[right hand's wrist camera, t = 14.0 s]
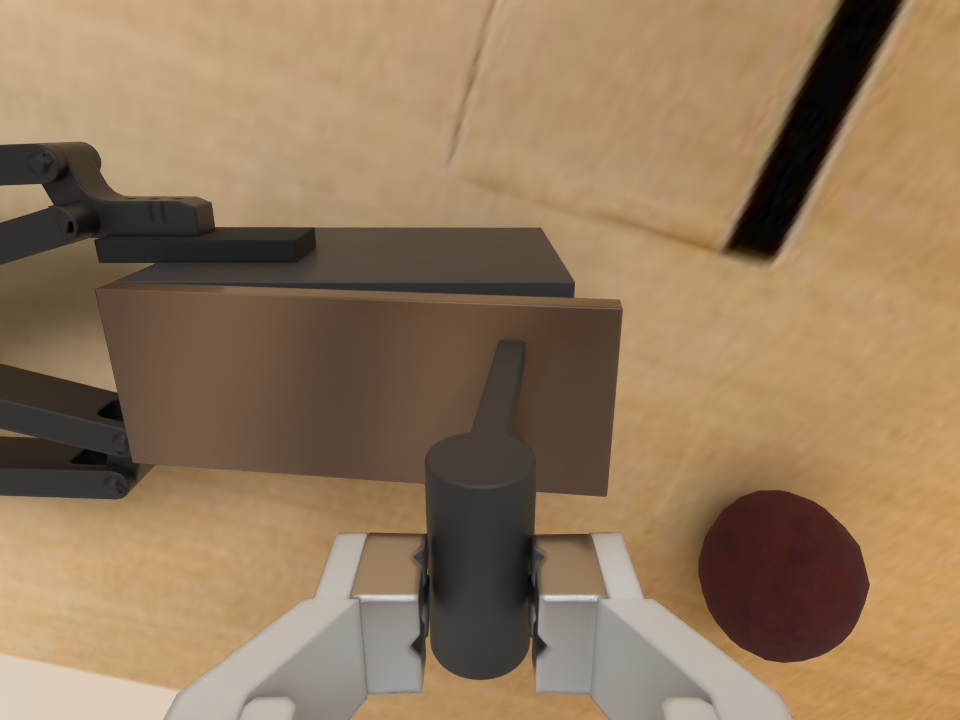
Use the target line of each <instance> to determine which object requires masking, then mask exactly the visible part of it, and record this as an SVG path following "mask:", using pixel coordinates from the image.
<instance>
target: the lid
mask: <svg viewBox="0 0 960 720" xmlns="http://www.w3.org/2000/svg"><path fill="white" fill-rule="evenodd" d="M95 291H96V296H97V300H98V305H99V309H100V314H101V319H102V323H103V328H104V332H105V337H106V341H107V346H108V351H109V355H110V360H111V364H112V369H113V373H114V378H115V383H116V387H117V392H118V396H119V401H120V405H121V410H122V415H123V419H124V424H125V428H126V433H127V437H128V442H129V447H130V451H131V456H132V460H133V462H134V463H144V464H158V465H172V466H186V467H200V468H214V469H228V470H241V471H255V472H269V473H283V474H297V475H311V476H325V477H339V478H353V479H366V480H380V481H394V482H408V483H422V484H425V489H426V519H427V535H428V545H429V561H428V576H429V577H430V641H431V648H432V651H433V653H434V655H435V657H436V659H437V660H438V661H439V663H440V664H441V665H442V666H443V667H444V668H446V669H447V670H448V671H450V672H452V673H453V674H455V675H458V676H460V677H464V678H467V679H473V680H487V679H493V678H497V677H500V676H503V675H505V674H507V673H509V672H511V671H512V670H514V669H515V668H516V667H517V666H518V665H519V664H520V663H521V662H522V661H523V659H524V658H525V656H526V654H527V652H528V649H529V645H530V630H529V618H528V578H529V576H530V574H531V571H530V561H529V546H530V535H534V524H535V498H536V492H547V493H561V494H575V495H589V496H602V497H606V496H607V489H608V477H609V465H610V454H611V442H612V430H613V418H614V407H615V395H616V383H617V371H618V360H619V348H620V336H621V324H622V313H623V309H622V305H621V302H620V300H614V299H586V298H557V297H529V296H500V295H472V294H443V293H415V292H386V291H358V290H329V289H301V288H272V287H244V286H215V285H187V284H158V283H129V282H114V283H111V284H108V285H105V286H102V287H100V288H97V289H96V290H95Z"/></svg>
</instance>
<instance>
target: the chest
mask: <svg viewBox="0 0 960 720" xmlns="http://www.w3.org/2000/svg"><path fill="white" fill-rule="evenodd" d="M315 237H316V248H315V249H314V250H312V251H311V252H310V253H308V254H307V255H306V256H305V257H303V258H302V259H301V260H299V261H298V262H158V263H156V264H154V265H151V266H149V267H147V268H144V269H142V270H140V271H138V272H135V273H133V274H131V275H128V276H126V277H124V278H122V279H119V280H117V281H115V282H129V283H158V284H187V285H215V286H244V287H272V288H301V289H329V290H358V291H386V292H415V293H443V294H472V295H500V296H529V297H557V298H574V290H575V282H574V280H573V278H572V277H571V275H570V274H569V272H568V270H567V269H566V267H565V266H564V264H563V262H562V261H561V259H560V258H559V256H558V254H557V253H556V251H555V250H554V248H553V246H552V245H551V243H550V242H549V240H548V238H547V237H546V235H545V234H544V232H543V230H542V229H541V228H315Z"/></svg>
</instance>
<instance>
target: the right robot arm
mask: <svg viewBox="0 0 960 720" xmlns="http://www.w3.org/2000/svg"><path fill="white" fill-rule="evenodd" d="M428 561H429V545H428V535H427V534H407V533H369V534H368V533H339V534H338V535H337V536H336V537H335V538H334V541H333V544H332V547H331V549H330V552H329V555H328V558H327V561H326V563H325V566H324V569H323V572H322V575H321V578H320V580H319V583H318V586H317V589H316V592H315V595H314V597H313V599H303V600H302V601H301V602H299V603H298V604H297V605H295V606H294V607H293V608H291V609H290V610H289V611H287V612H286V613H285V614H283V615H282V616H281V617H279V618H278V619H277V620H275V621H274V622H273V623H271V624H270V625H269V626H267V627H266V628H265V629H263V630H262V631H261V632H259V633H258V634H257V635H255V636H254V637H253V638H251V639H250V640H249V641H247V642H246V643H245V644H243V645H242V646H241V647H239V648H238V649H237V650H235V651H234V652H233V653H231V654H230V655H229V656H227V657H226V658H225V659H223V660H222V661H221V662H219V663H218V664H217V665H215V666H214V667H213V668H211V669H210V670H209V671H207V672H206V673H205V674H203V675H202V676H201V677H199V678H198V679H197V680H195V681H194V682H193V683H191V684H190V685H189V686H187V687H186V688H185V689H183V690H182V691H181V692H179V693H178V694H177V695H176V697H175V699H174V701H173V703H172V705H171V707H170V708H169V710H168V712H167V714H166V716H165V718H164V719H163V720H349V719H350V718H351V717H352V716H353V715H354V713H355V712H356V711H357V710H358V708H359V707H360V706H361V705H362V703H363V702H364V701H365V700H366V698H367V694H398V693H422V688H423V679H424V669H425V660H426V650H425V638H426V637H427V636H428V630H429V616H430V577H429V576H428V574H427V570H428ZM529 561H530V571H531V574H530V576H529V578H528V618H529V630H530V636H531V637H532V638H533V644H532V662H533V671H534V680H535V689H536V693H558V694H591V698H592V699H593V701H594V702H595V703H596V704H597V706H598V707H599V708H600V709H601V711H602V712H603V713H604V714H605V716H606V717H607V718H608V719H609V720H794V719H793V717H792V716H791V714H790V712H789V710H788V708H787V706H786V704H785V702H784V700H783V698H782V697H781V695H780V694H779V693H777V692H776V691H775V690H773V689H772V688H771V687H769V686H768V685H767V684H765V683H764V682H763V681H761V680H760V679H759V678H757V677H756V676H755V675H754V674H752V673H751V672H750V671H748V670H747V669H746V668H744V667H743V666H742V665H740V664H739V663H738V662H736V661H735V660H734V659H732V658H731V657H730V656H728V655H727V654H726V653H724V652H723V651H722V650H720V649H719V648H718V647H717V646H715V645H714V644H713V643H711V642H710V641H709V640H707V639H706V638H705V637H703V636H702V635H701V634H699V633H698V632H697V631H695V630H694V629H693V628H691V627H690V626H689V625H687V624H686V623H685V622H683V621H682V620H681V619H680V618H678V617H677V616H676V615H674V614H673V613H672V612H670V611H669V610H668V609H666V608H665V607H664V606H662V605H661V604H660V603H658V602H657V601H656V600H654V599H644V596H643V593H642V590H641V587H640V584H639V582H638V579H637V576H636V573H635V570H634V567H633V565H632V562H631V559H630V556H629V553H628V551H627V548H626V545H625V542H624V539H623V536H622V535H621V534H620V533H619V532H609V533H589V534H536V535H530V546H529Z"/></svg>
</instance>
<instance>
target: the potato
mask: <svg viewBox="0 0 960 720" xmlns="http://www.w3.org/2000/svg"><path fill="white" fill-rule="evenodd" d="M699 578H700V582H701V587H702V592H703V595H704V598H705V601H706V604H707V607H708V609H709V611H710V613H711V614H712V616H713V618H714V619H715V621H716V623H717V624H718V625H719V626H720V627H721V629H722V630H723V631H724V632H725V633H726V634H727V636H728V637H729V638H730V639H731V640H732V641H733V642H735V643H736V644H737V645H738V646H739V647H740V648H742V649H744V650H747V651H749V652H751V653H753V654H755V655H757V656H759V657H761V658H763V659H765V660H769V661H775V662H782V663H786V662H798V661H804V660H808V659H811V658H814V657H818V656H821V655H823V654H825V653H827V652H829V651H830V650H832V649H833V648H835V647H836V646H838V645H839V644H841V643H842V642H843V641H844V640H845V639H846V638H847V636H848V635H849V634H850V633H851V632H852V630H853V628H854V627H855V625H856V623H857V622H858V619H859V617H860V614H861V612H862V609H863V607H864V604H865V601H866V597H867V593H868V590H869V586H870V584H869V580H868V576H867V572H866V568H865V564H864V560H863V556H862V553H861V549H860V546H859V545H858V543H857V542H856V541H855V540H854V538H853V537H852V536H851V535H850V533H849V532H848V531H847V530H846V528H845V527H844V526H843V525H842V524H841V523H840V522H839V521H837V520H836V519H835V518H834V517H833V516H832V515H831V514H830V513H829V512H828V511H827V510H826V509H825V508H823V507H821V506H820V505H818V504H817V503H815V502H813V501H811V500H809V499H806V498H803V497H800V496H798V495H795V494H792V493H790V492H785V491H780V490H771V491H757V492H754V493H751V494H749V495H746V496H743V497H741V498H739V499H738V500H736V501H735V502H734V503H732V504H731V505H730V506H728V507H727V508H726V509H724V511H723V512H722V513H721V515H720V516H719V518H718V519H717V520H716V522H715V523H714V524H713V526H712V527H711V529H710V530H709V532H708V534H707V535H706V537H705V540H704V543H703V547H702V551H701V554H700V558H699Z"/></svg>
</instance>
